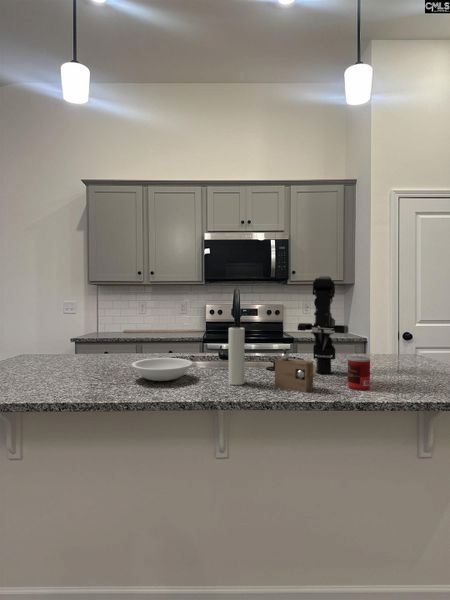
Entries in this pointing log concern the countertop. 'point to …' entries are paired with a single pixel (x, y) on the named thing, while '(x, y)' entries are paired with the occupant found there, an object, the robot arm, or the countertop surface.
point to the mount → (293, 375)
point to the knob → (301, 373)
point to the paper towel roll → (236, 355)
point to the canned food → (358, 373)
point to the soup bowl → (162, 368)
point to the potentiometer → (284, 356)
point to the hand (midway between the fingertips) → (321, 350)
